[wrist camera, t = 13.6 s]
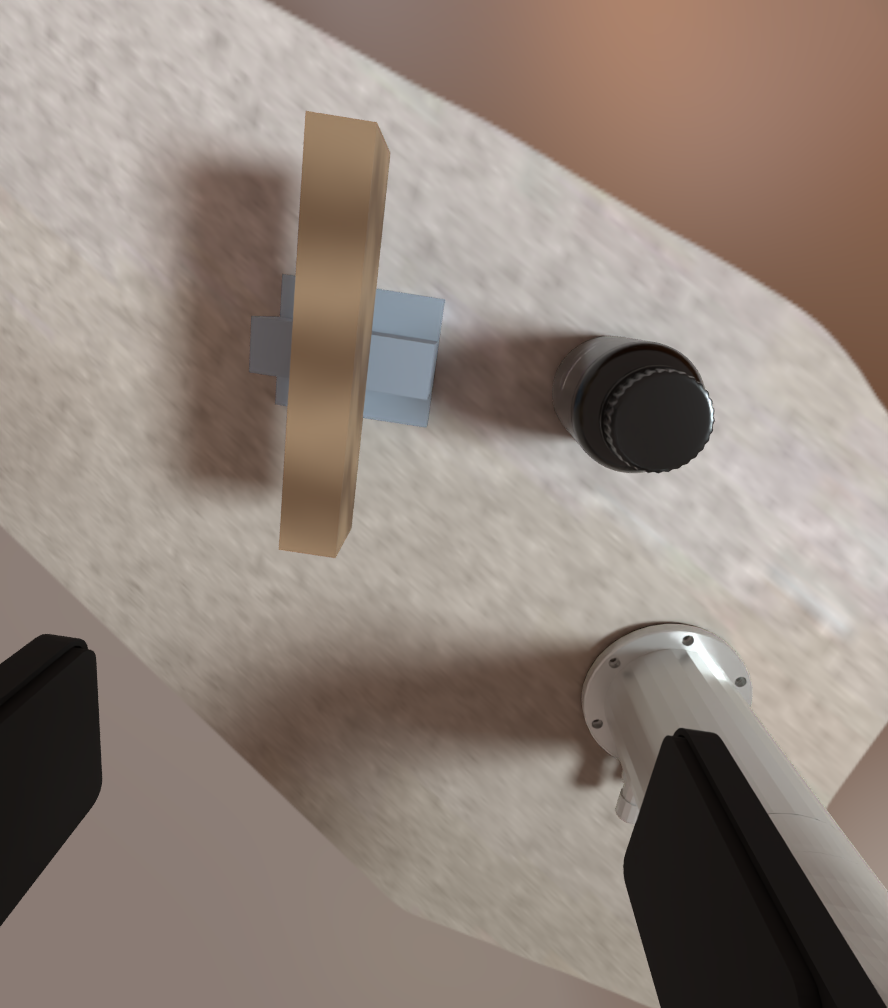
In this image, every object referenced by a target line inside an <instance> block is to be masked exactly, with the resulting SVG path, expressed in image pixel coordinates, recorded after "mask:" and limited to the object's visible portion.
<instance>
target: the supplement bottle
mask: <svg viewBox="0 0 888 1008" xmlns="http://www.w3.org/2000/svg"><path fill="white" fill-rule="evenodd" d="M552 399H553V405H554V409H555V411H556V414H557V416H558V418H559V420H560V421H561V423H562V424H563V426H564V427H565V428H566V429H567V431H568V432H569V433H570V434H571V435H572V437H573V438H574V439H575V440H576V441H577V443H578V444H579V445H580V446H581V447H582V449H583V450H584V451H585V452H586V453H587V454H588V455H589V456H590V457H591V458H592V459H594V460H595V461H596V462H598V463H599V464H601V465H603V466H604V467H606V468H609V469H611V470H615V471H618V472H624V473H643V472H648V473H650V472H656V473H661V472H663V471H665V472H669V471H671V470H672V469H678V468H680V467H681V466H682V465H685V464H688V463H689V462H690V460H691V459H693V458H695V457H696V456H697V455H698V453H699V452H700V451H702V450H703V449H704V445H705V444H706V443H707V442H708V441H709V436H710V434H711V433H712V431H713V426H712V425H713V424H714V421H715V420H714V417H713V415H714V411H715V410H714V408H713V407H712V400H711V399H710V398H709V393H708V391H707V390H705V387H704V384H703V381H702V378H701V376H700V374H699V372H698V370H697V369H696V367H695V366H694V365H693V363H692V362H691V361H690V360H689V359H688V358H687V357H686V356H685V355H683V354H682V353H680V352H679V351H677V350H675V349H673V348H671V347H669V346H666V345H663V344H660V343H655V342H650V341H644V340H638V339H632V338H626V337H618V336H603V337H598V338H594V339H591V340H588V341H586V342H584V343H582V344H580V345H579V346H577V347H576V348H575V349H573V350H572V351H571V352H570V353H569V354H568V355H567V356H566V357H565V358H564V360H563V361H562V363H561V364H560V366H559V368H558V370H557V372H556V375H555V377H554V381H553V387H552Z"/></svg>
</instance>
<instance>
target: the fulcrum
mask: <svg viewBox="0 0 888 1008" xmlns="http://www.w3.org/2000/svg"><path fill="white" fill-rule="evenodd" d="M295 278H296V276H292V275H286V274H282V290H281V309H280V317H274V316H251V338H250V363H249V372H251V373H258V374H264V375H271V376H277V382H276V400H275V404H277V405H283V406H288V392H289V376H290V359H291V343H292V327H293V310H294V294H295ZM444 303H445V300H444V299H438V298H432V297H426V296H419V295H413V294H407V293H400V292H394V291H388V290H381V289H376V296H375V306H374V315H373V325H372V335H371V344H370V354H369V363H368V373H367V383H366V392H365V402H364V412H363V418H368V419H374V420H381V421H387V422H394V423H400V424H407V425H413V426H420V427H427V424H428V417H429V410H430V403H431V395H432V388H433V381H434V374H435V367H436V360H437V353H438V346H439V339H440V331H441V324H442V317H443V310H444Z"/></svg>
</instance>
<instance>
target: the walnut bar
mask: <svg viewBox="0 0 888 1008" xmlns="http://www.w3.org/2000/svg"><path fill="white" fill-rule="evenodd" d="M389 161H390V151H389V149H388V147H387V144H386V142H385V140H384V137H383V135H382V133H381V130H380V128H379V126H378V124H377V122H371V121H365V120H359V119H353V118H347V117H340V116H334V115H328V114H322V113H315V112H309V111H306V115H305V131H304V147H303V164H302V180H301V196H300V213H299V229H298V245H297V261H296V278H295V294H294V310H293V327H292V343H291V359H290V376H289V392H288V408H287V425H286V441H285V457H284V474H283V490H282V506H281V523H280V539H279V550H285V551H292V552H298V553H305V554H312V555H318V556H325V557H332V558H336V556H337V554H338V552H339V550H340V548H341V547H342V545H343V543H344V541H345V539H346V537H347V536H348V534H349V532H350V530H351V528H352V518H353V508H354V499H355V489H356V479H357V470H358V460H359V450H360V441H361V431H362V421H363V412H364V402H365V392H366V383H367V373H368V363H369V354H370V344H371V335H372V325H373V315H374V306H375V296H376V286H377V277H378V267H379V257H380V248H381V238H382V228H383V219H384V209H385V199H386V190H387V180H388V170H389Z"/></svg>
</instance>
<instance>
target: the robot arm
mask: <svg viewBox="0 0 888 1008" xmlns="http://www.w3.org/2000/svg"><path fill="white" fill-rule="evenodd" d="M97 687H98V686H97V666H96V655H95V653H94V652H93V651H92V650H89V649H88V647H87V644H86V642H85V641H84V640H82V639H79V638H71V637H65V636H58V635H51V634H42V635H40V636H38V637H37V638H35V639H34V640H33V641H31V642H30V643H28V644H27V645H26V646H24V647H23V648H22V649H20V650H19V651H18V652H16V653H15V654H13V655H12V656H11V657H9V658H8V659H7V660H5V661H4V662H2V663H1V664H0V926H1V925H2V924H3V922H4V921H5V920H6V918H7V917H8V916H9V914H10V913H11V912H12V910H13V909H14V908H15V907H16V905H17V904H18V903H19V901H20V900H21V899H22V897H23V896H24V895H25V893H26V892H27V891H28V890H29V888H30V887H31V886H32V884H33V883H34V882H35V880H36V879H37V878H38V877H39V875H40V874H41V873H42V871H43V870H44V869H45V868H46V866H47V865H48V864H49V862H50V861H51V860H52V858H53V857H54V856H55V855H56V853H57V852H58V850H59V849H60V848H61V847H62V845H63V844H64V843H65V842H66V840H67V839H68V837H69V836H70V835H71V834H72V832H73V831H74V830H75V828H76V827H77V826H78V824H79V823H80V822H81V821H82V819H83V818H84V817H85V815H86V814H87V813H88V812H89V810H90V809H91V808H92V806H93V805H94V803H95V802H96V800H97V798H98V795H99V793H100V790H101V785H102V765H101V746H100V727H99V706H98V688H97ZM752 690H753V688H752V683H751V678H750V674H749V672H748V670H747V668H746V666H745V663H744V662H743V661H742V659H741V658H740V657H739V655H738V654H737V653H736V651H735V650H734V649H733V648H732V647H731V646H730V645H729V644H728V643H727V642H726V641H724V640H723V639H721V638H720V637H718V636H717V635H715V634H714V633H712V632H709V631H707V630H704V629H701V628H699V627H694V626H689V625H684V624H662V625H655V626H649V627H646V628H642V629H639V630H636V631H633V632H631V633H629V634H627V635H625V636H623V637H621V638H619V639H618V640H617V641H615V642H614V643H613V644H611V645H610V646H609V647H607V648H606V649H605V650H604V651H603V652H602V653H601V654H600V655H599V656H598V658H597V659H596V660H595V662H594V663H593V665H592V666H591V668H590V669H589V671H588V673H587V676H586V679H585V681H584V684H583V690H582V697H581V698H582V710H583V714H584V717H585V721H586V724H587V726H588V728H589V731H590V733H591V735H592V736H593V738H594V739H595V740H596V742H597V743H598V744H599V746H601V747H602V748H603V749H604V750H605V751H606V752H607V753H609V754H610V755H612V756H613V757H615V758H617V759H618V760H620V762H621V765H622V768H623V771H622V774H621V776H622V780H623V782H624V785H623V788H622V789H621V792H620V795H619V798H618V801H617V805H616V808H615V811H616V814H617V815H618V817H619V818H620V819H621V820H623V821H625V822H626V823H630V824H635V826H634V829H633V832H632V835H631V838H630V841H629V844H628V847H627V850H626V854H625V857H624V865H623V868H624V880H625V884H626V888H627V891H628V895H629V898H630V902H631V905H632V909H633V912H634V916H635V919H636V923H637V926H638V930H639V933H640V937H641V940H642V944H643V947H644V951H645V954H646V958H647V961H648V965H649V968H650V972H651V975H652V978H653V982H654V985H655V989H656V992H657V996H658V999H659V1003H660V1006H661V1008H888V891H887V890H886V888H885V887H884V886H883V884H882V883H881V882H880V880H879V879H878V878H877V876H876V875H875V874H874V872H873V871H872V870H871V868H870V867H869V866H868V864H867V863H866V862H865V861H864V859H863V858H862V856H861V855H860V854H859V852H858V851H857V850H856V849H855V847H854V846H853V844H852V843H851V842H850V841H849V840H848V838H847V837H846V836H845V834H844V833H843V832H842V830H841V829H840V827H839V826H838V825H837V823H836V822H835V821H834V819H833V818H832V817H831V815H830V814H829V813H828V811H827V810H826V808H825V807H824V806H823V804H822V803H821V802H820V800H819V799H818V798H817V796H816V795H815V794H814V792H813V791H812V790H811V788H810V787H809V786H808V784H807V783H806V782H805V780H804V779H803V778H802V776H801V775H800V773H799V772H798V771H797V769H796V768H795V767H794V765H793V764H792V763H791V761H790V760H789V759H788V757H787V756H786V755H785V753H784V752H783V751H782V749H781V748H780V747H779V745H778V744H777V743H776V741H775V740H774V738H773V737H772V736H771V734H770V733H769V732H768V730H767V729H766V728H765V726H764V725H763V724H762V722H761V721H760V720H759V718H758V717H757V716H756V714H755V713H754V712H753V710H752V709H751V704H752Z"/></svg>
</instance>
